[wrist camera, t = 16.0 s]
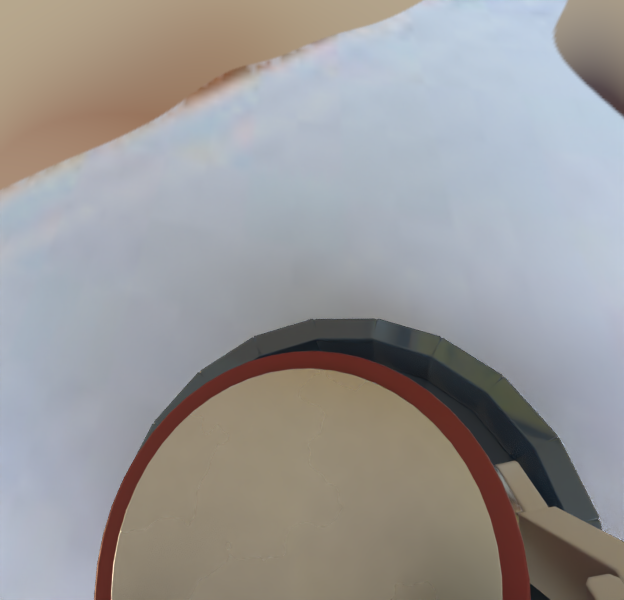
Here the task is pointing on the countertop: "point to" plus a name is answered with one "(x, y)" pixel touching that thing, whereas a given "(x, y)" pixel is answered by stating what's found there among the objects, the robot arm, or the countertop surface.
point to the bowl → (444, 386)
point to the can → (312, 494)
